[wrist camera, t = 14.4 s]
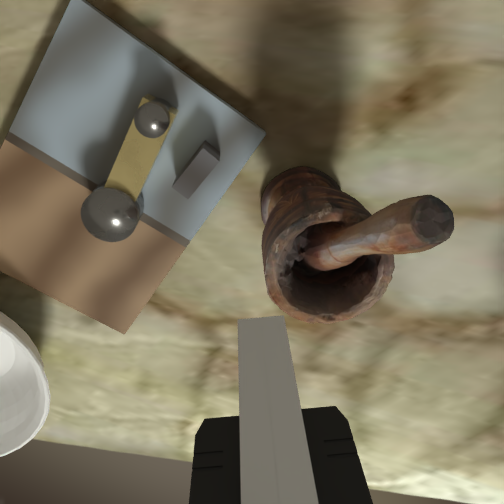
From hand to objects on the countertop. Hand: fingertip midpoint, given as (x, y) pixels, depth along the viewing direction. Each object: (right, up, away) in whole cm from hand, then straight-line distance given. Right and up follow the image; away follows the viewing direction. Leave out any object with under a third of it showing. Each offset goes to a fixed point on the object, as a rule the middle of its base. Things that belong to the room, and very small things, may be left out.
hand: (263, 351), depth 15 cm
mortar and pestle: (+4, +9, +25) cm, 27 cm away
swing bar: (-10, +10, +22) cm, 26 cm away
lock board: (-13, +9, +24) cm, 29 cm away
